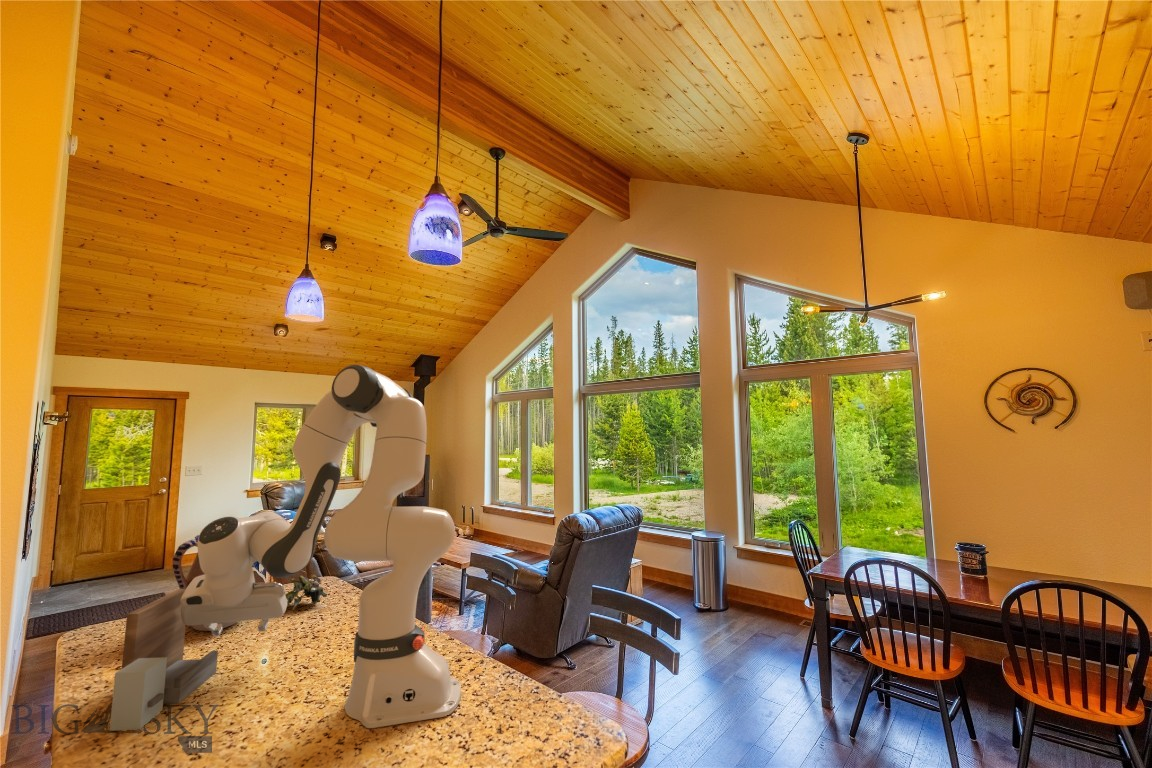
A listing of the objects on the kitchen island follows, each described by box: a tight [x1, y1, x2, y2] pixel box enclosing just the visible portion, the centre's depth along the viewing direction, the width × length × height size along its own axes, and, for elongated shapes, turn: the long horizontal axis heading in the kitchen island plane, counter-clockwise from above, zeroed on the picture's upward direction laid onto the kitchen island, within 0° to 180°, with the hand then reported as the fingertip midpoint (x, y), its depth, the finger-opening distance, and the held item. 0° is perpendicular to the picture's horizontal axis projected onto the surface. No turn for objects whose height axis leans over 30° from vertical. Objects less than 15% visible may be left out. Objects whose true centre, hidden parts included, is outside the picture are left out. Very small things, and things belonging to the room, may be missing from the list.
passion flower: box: [285, 574, 328, 612], centre depth 156 cm, size 11×11×12 cm
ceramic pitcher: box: [172, 534, 239, 632], centre depth 140 cm, size 18×21×25 cm
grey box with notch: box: [109, 657, 167, 732], centre depth 95 cm, size 6×6×10 cm
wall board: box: [121, 588, 219, 705], centre depth 107 cm, size 10×16×18 cm, turn 8°
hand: (240, 630), depth 117 cm, fingers open, 8 cm apart
